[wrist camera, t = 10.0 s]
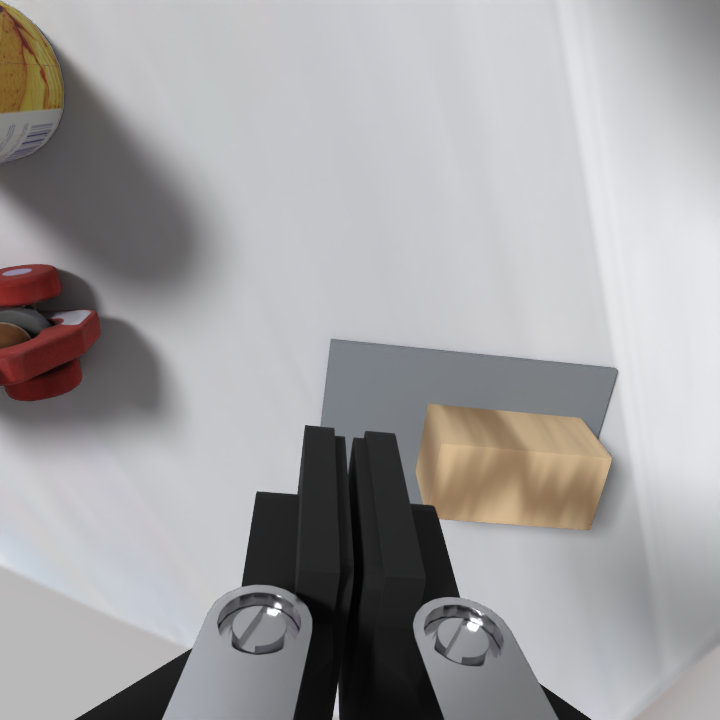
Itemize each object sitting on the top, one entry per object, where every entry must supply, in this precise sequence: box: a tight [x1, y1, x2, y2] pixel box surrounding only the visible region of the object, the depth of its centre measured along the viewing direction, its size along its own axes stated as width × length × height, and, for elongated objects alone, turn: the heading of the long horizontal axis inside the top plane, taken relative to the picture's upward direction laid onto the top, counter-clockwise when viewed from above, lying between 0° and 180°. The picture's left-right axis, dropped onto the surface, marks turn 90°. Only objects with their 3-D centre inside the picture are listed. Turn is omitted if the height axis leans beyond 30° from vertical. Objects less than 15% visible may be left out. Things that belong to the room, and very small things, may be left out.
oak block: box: [416, 404, 612, 530], centre depth 41 cm, size 5×5×10 cm
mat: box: [320, 339, 618, 504], centre depth 43 cm, size 12×18×1 cm, turn 83°
